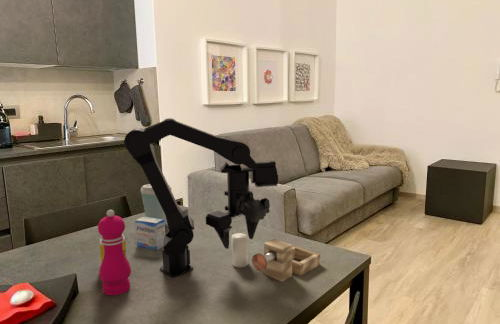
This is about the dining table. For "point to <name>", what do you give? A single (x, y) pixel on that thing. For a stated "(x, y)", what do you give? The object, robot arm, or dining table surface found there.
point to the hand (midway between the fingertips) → (239, 243)
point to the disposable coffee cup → (152, 203)
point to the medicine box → (150, 233)
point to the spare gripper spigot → (239, 250)
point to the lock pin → (263, 260)
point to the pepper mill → (113, 256)
